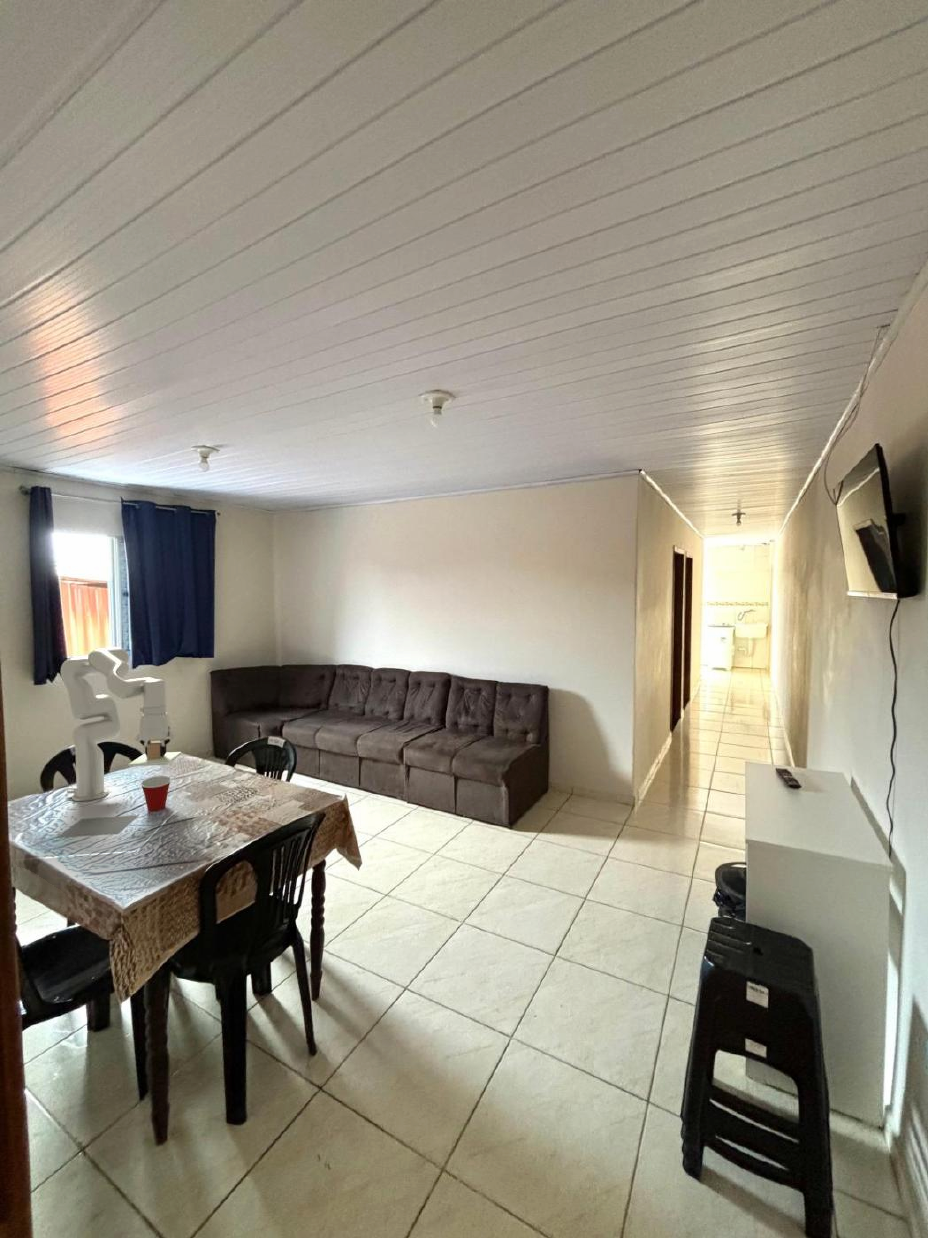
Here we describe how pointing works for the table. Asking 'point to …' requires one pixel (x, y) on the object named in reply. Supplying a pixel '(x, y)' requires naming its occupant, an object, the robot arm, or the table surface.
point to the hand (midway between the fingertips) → (155, 755)
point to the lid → (154, 756)
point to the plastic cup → (156, 792)
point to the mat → (98, 826)
